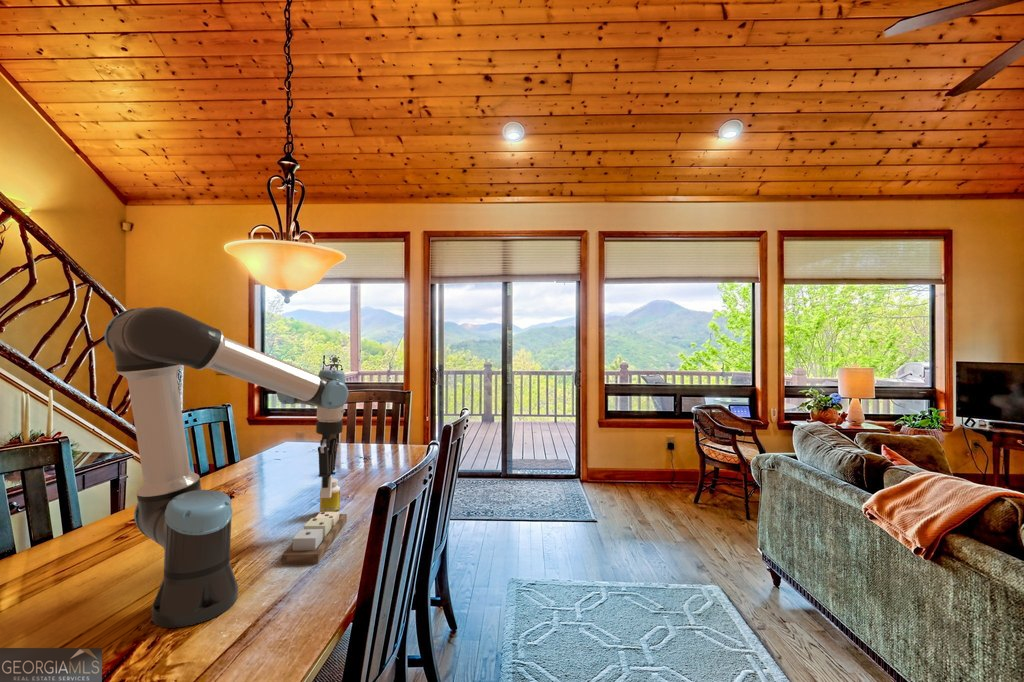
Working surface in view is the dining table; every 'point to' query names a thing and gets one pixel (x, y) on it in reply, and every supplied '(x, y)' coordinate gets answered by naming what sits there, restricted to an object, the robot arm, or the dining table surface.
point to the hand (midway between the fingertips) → (326, 497)
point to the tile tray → (317, 555)
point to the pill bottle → (331, 499)
